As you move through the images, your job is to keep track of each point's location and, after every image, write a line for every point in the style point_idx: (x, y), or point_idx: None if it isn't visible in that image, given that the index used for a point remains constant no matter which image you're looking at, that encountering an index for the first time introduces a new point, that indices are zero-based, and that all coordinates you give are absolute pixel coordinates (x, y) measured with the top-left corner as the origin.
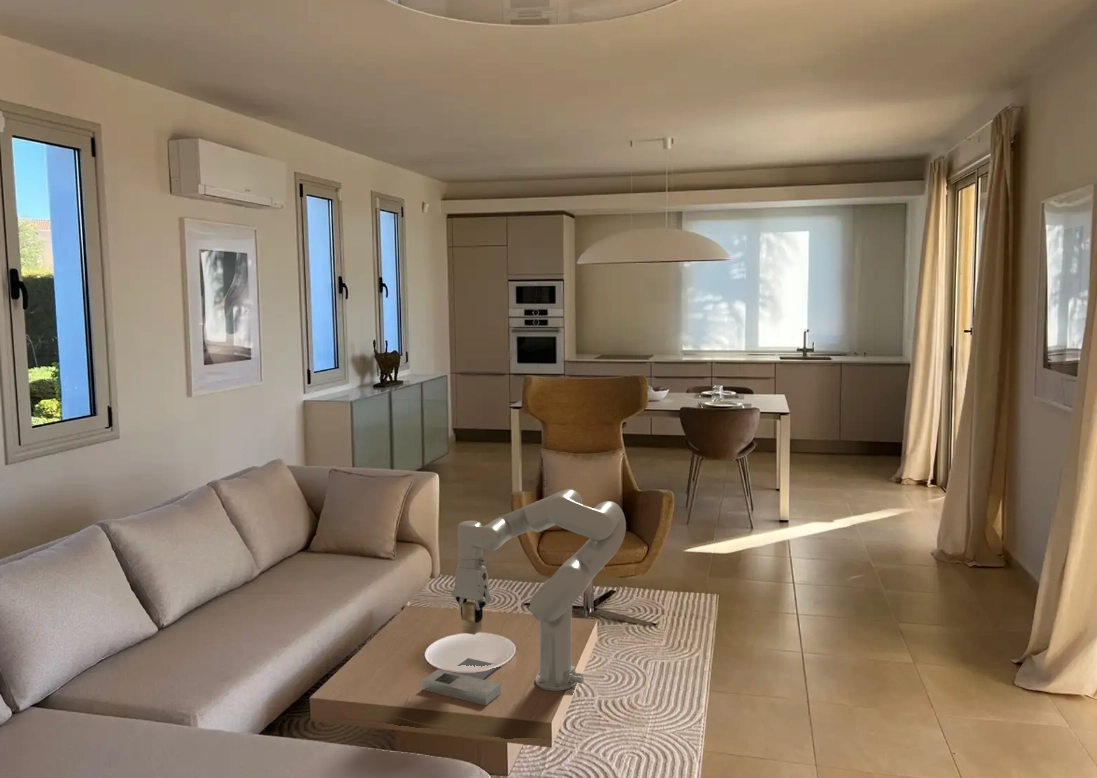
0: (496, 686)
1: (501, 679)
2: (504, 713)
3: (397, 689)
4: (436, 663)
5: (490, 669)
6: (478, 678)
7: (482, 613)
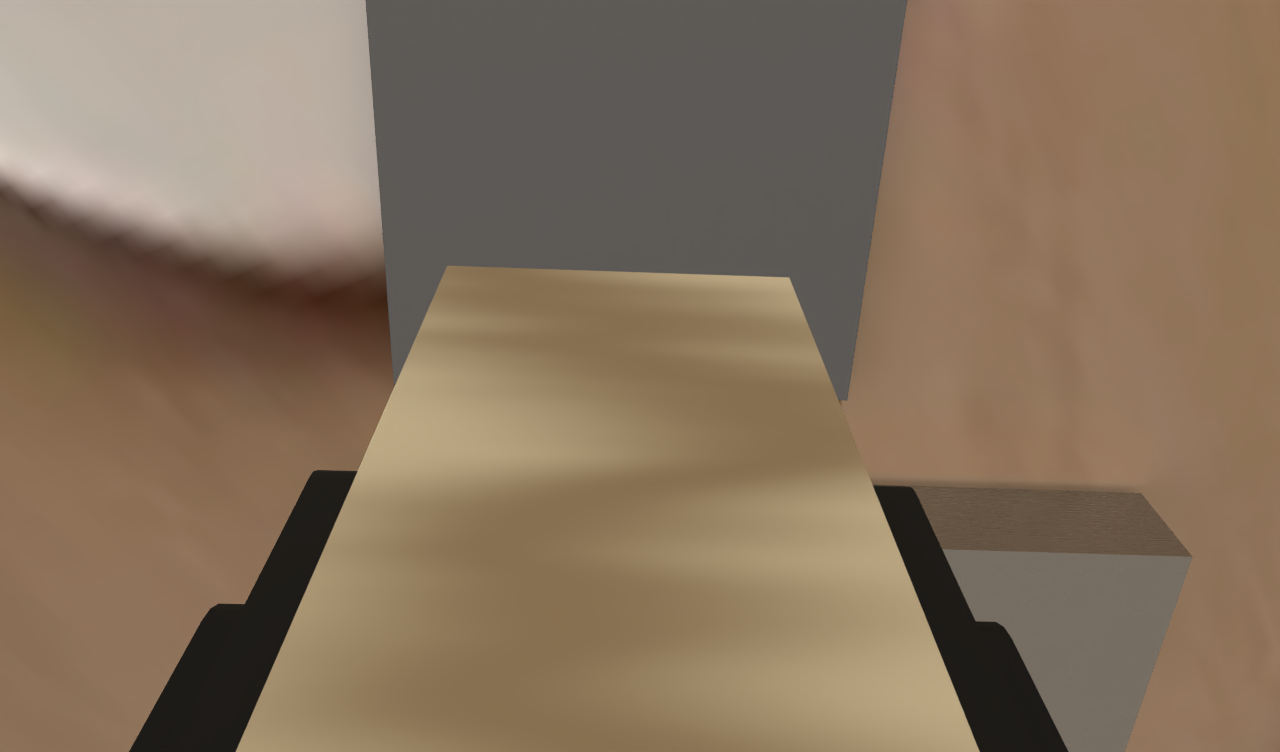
0: (1166, 618)
1: (1039, 205)
2: (1264, 729)
3: None
4: (56, 141)
5: (838, 87)
6: None
7: (1052, 734)
